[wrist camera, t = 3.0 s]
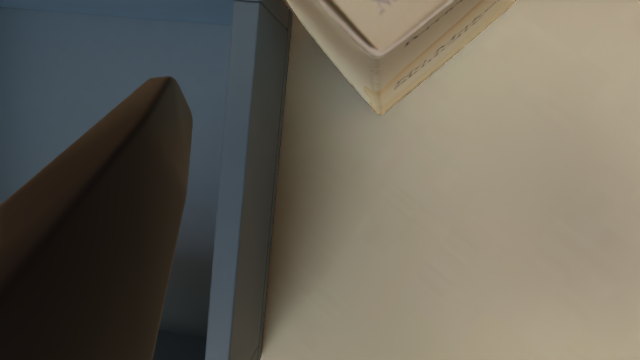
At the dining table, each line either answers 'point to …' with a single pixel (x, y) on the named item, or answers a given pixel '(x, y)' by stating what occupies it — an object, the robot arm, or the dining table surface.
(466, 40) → the cosmetic box
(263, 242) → the tub
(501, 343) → the dining table surface
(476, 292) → the dining table surface
